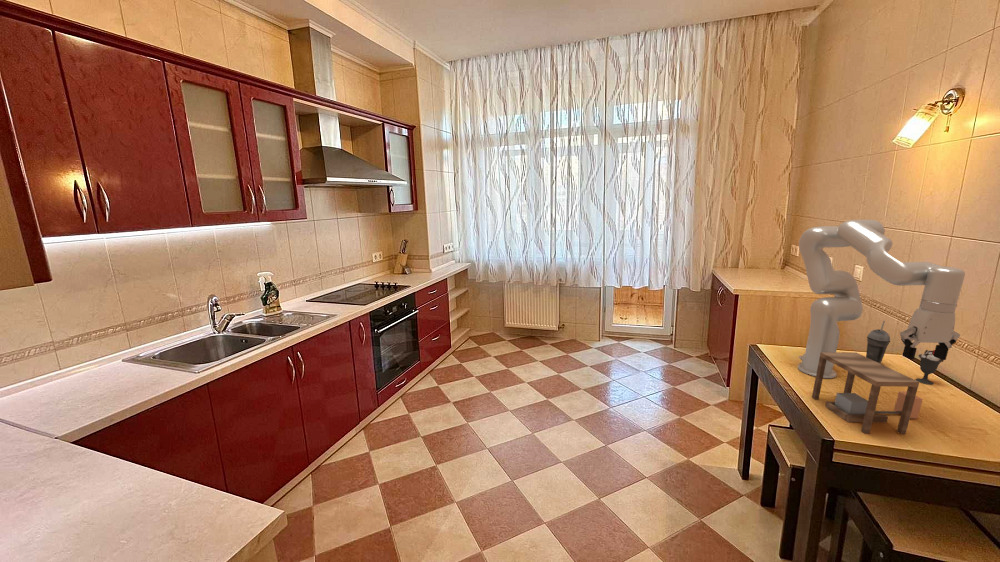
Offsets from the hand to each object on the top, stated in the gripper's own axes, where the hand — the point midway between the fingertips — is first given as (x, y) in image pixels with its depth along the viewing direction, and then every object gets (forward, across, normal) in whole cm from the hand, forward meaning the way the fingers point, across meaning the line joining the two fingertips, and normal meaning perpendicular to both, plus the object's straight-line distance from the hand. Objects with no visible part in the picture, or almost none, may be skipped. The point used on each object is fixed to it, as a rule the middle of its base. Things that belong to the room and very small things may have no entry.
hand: (923, 358), depth 128 cm
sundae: (+21, -31, -26) cm, 46 cm away
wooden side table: (+21, +16, -1) cm, 26 cm away
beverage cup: (+22, -25, -42) cm, 53 cm away
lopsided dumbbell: (+21, +9, -1) cm, 23 cm away
